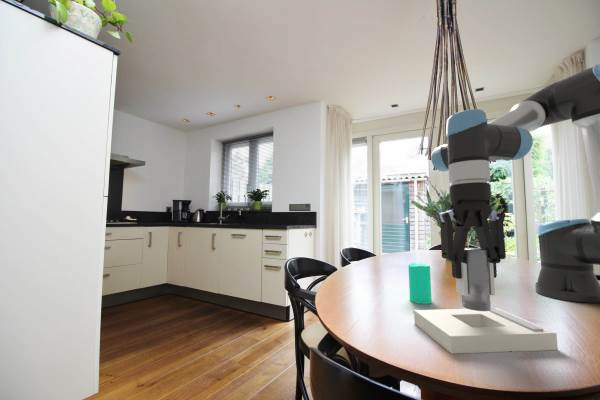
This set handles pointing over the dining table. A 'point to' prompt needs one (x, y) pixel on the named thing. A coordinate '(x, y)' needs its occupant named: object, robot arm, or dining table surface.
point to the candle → (420, 283)
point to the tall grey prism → (477, 280)
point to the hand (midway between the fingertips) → (475, 293)
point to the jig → (483, 331)
